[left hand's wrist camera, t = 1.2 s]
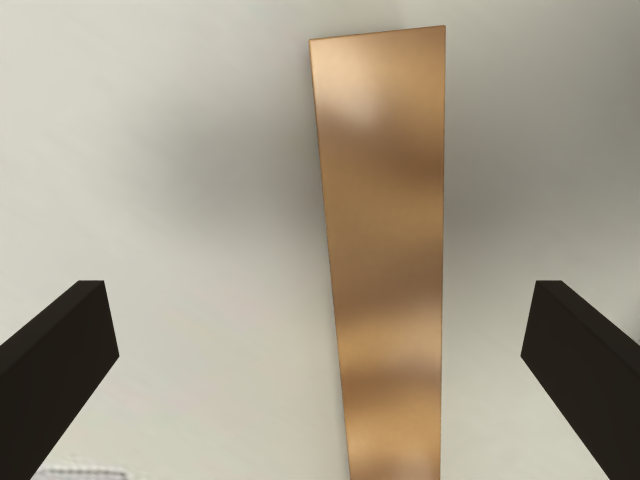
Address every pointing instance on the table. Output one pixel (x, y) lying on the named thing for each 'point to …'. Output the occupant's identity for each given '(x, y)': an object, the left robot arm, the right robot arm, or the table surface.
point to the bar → (385, 240)
